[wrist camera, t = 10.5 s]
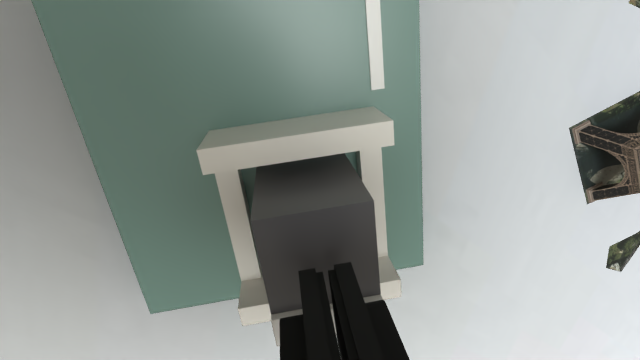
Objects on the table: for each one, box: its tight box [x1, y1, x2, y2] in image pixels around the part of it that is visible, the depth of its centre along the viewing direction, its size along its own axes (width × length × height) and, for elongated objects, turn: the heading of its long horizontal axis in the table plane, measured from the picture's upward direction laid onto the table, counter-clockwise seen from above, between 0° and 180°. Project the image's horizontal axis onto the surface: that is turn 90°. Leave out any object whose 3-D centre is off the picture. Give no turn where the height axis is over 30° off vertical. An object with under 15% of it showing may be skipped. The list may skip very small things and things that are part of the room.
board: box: [31, 0, 423, 326], centre depth 15 cm, size 20×15×4 cm
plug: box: [251, 153, 383, 346], centre depth 15 cm, size 5×4×6 cm
